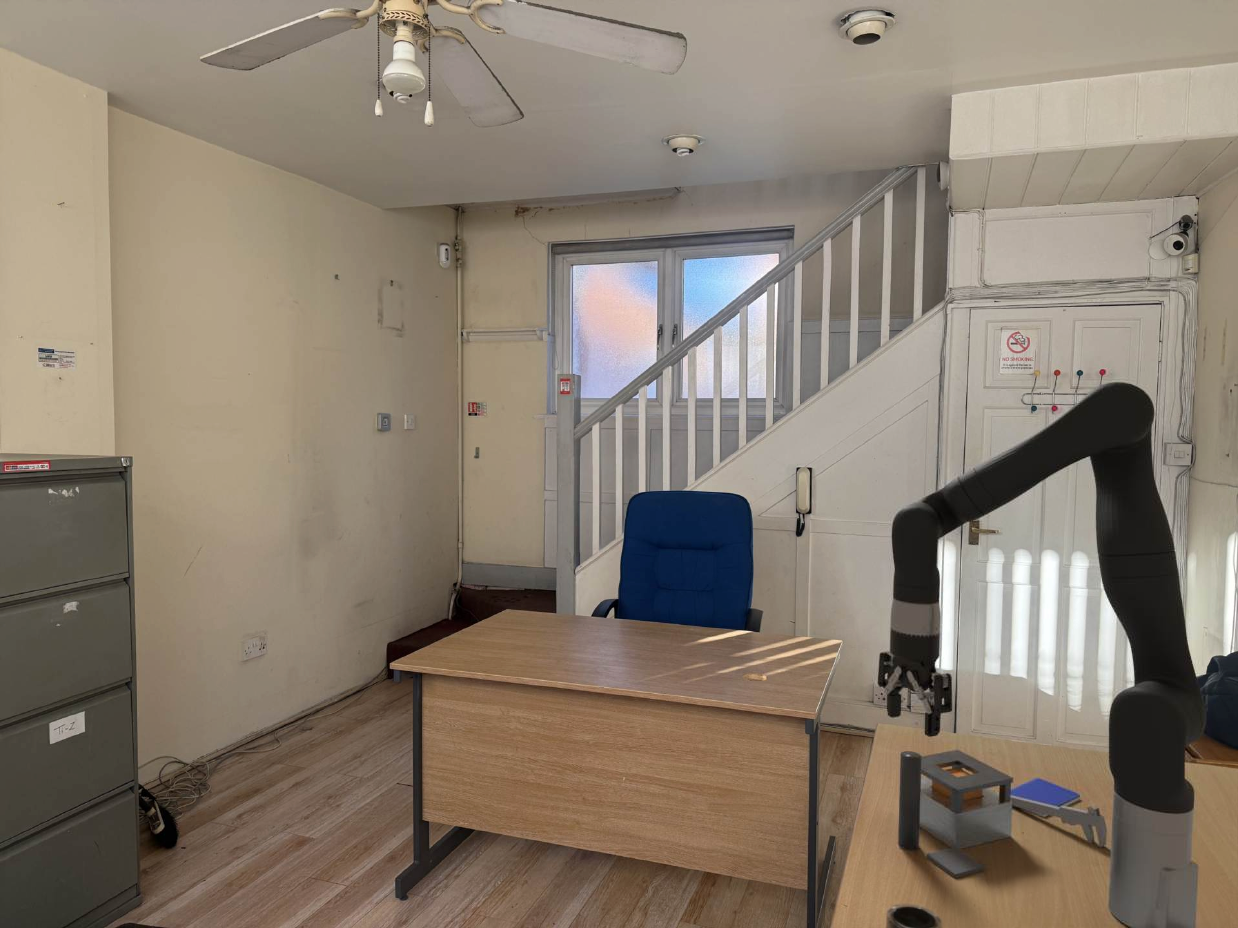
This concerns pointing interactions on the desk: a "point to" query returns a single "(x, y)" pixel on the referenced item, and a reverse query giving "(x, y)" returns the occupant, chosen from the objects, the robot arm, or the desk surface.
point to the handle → (909, 800)
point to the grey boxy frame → (964, 818)
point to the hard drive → (1045, 794)
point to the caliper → (1069, 817)
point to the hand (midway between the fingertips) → (912, 725)
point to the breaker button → (948, 793)
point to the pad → (955, 862)
